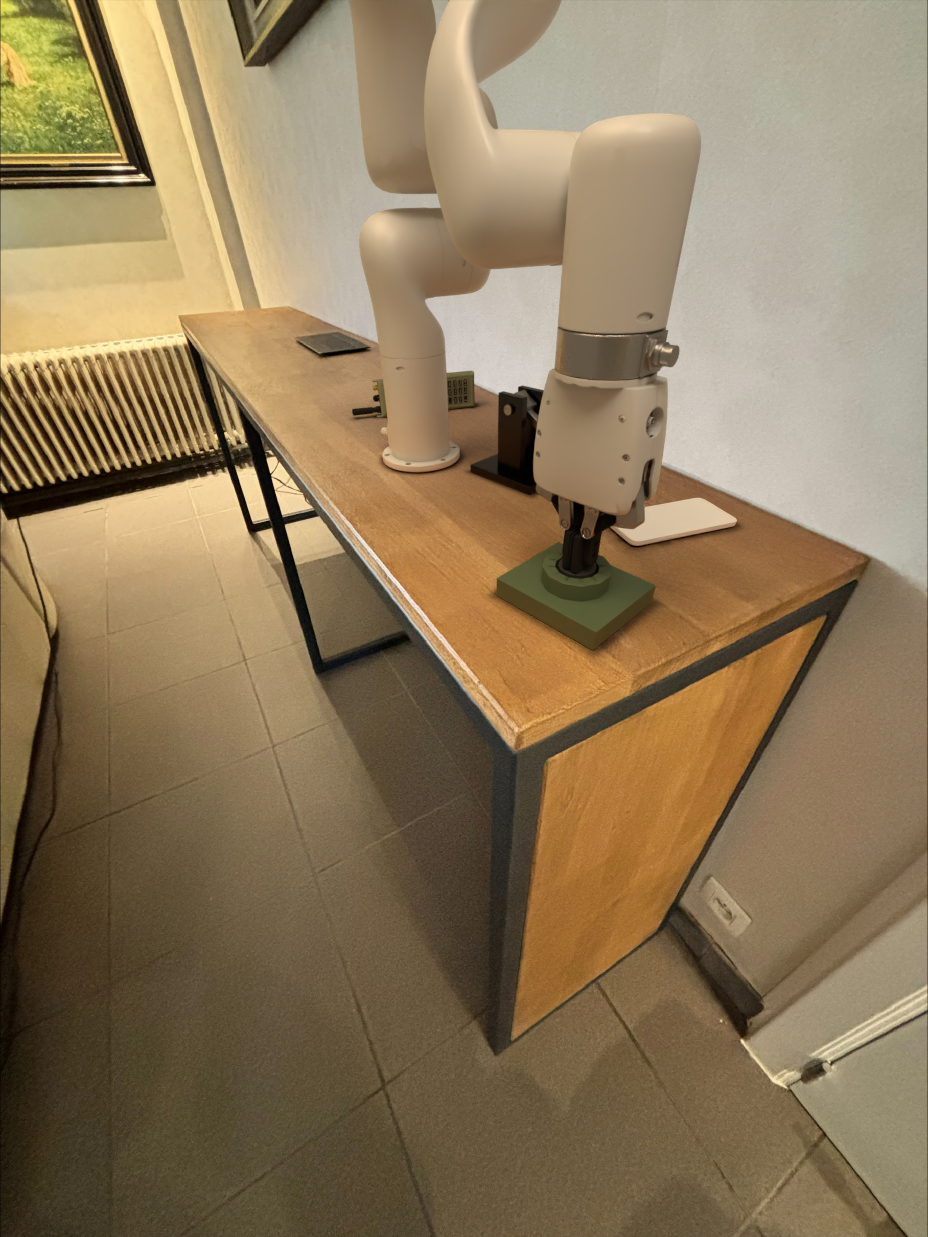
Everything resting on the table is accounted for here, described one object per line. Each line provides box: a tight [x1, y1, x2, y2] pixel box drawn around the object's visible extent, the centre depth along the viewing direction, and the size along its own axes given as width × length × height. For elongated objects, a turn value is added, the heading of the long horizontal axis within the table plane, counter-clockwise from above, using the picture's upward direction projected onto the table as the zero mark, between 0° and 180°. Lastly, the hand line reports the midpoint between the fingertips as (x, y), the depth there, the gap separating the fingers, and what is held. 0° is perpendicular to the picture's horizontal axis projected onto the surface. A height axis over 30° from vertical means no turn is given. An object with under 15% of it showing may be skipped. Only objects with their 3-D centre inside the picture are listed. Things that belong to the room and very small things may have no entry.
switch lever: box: [513, 390, 538, 429], centre depth 68 cm, size 14×3×3 cm, turn 44°
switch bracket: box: [469, 385, 544, 496], centre depth 72 cm, size 12×9×12 cm
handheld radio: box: [351, 370, 476, 418], centre depth 99 cm, size 7×3×25 cm
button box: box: [495, 541, 656, 651], centre depth 49 cm, size 12×10×4 cm
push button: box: [558, 558, 596, 579], centre depth 49 cm, size 4×4×2 cm
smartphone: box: [610, 497, 738, 546], centre depth 62 cm, size 7×1×15 cm
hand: (578, 565), depth 48 cm, fingers closed
